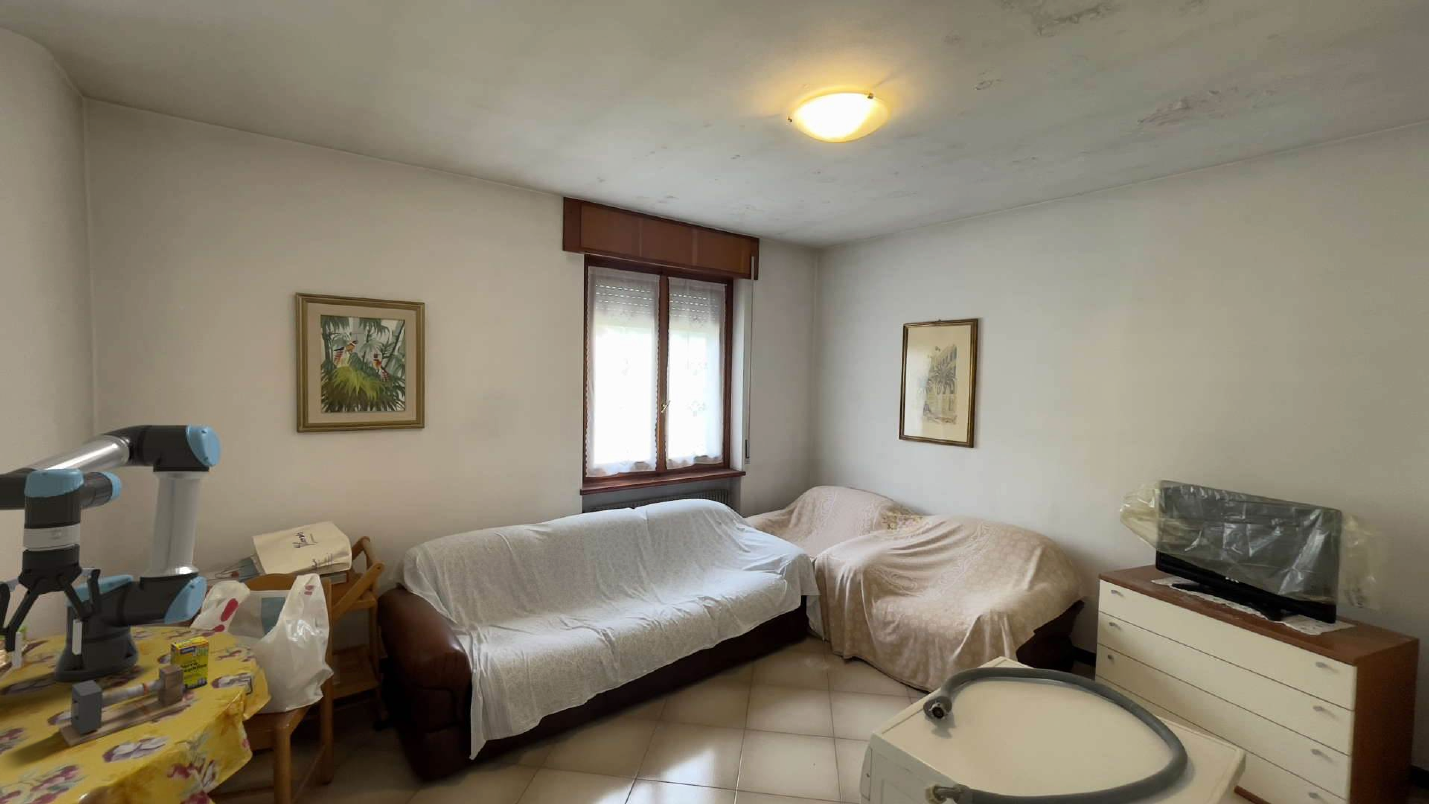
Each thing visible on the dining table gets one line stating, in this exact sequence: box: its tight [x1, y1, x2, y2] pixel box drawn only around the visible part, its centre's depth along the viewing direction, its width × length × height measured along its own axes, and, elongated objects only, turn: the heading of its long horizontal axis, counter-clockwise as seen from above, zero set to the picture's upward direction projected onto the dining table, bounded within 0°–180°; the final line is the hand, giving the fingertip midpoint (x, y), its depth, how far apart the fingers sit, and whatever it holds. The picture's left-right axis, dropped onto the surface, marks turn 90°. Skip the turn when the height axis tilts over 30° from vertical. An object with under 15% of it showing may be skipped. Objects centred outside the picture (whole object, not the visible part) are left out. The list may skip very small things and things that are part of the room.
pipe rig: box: [58, 664, 187, 748], centre depth 126 cm, size 18×10×8 cm, turn 148°
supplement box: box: [169, 635, 210, 692], centre depth 141 cm, size 6×6×11 cm
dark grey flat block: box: [70, 679, 103, 734], centre depth 121 cm, size 3×8×8 cm, turn 58°
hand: (47, 659), depth 114 cm, fingers open, 7 cm apart
